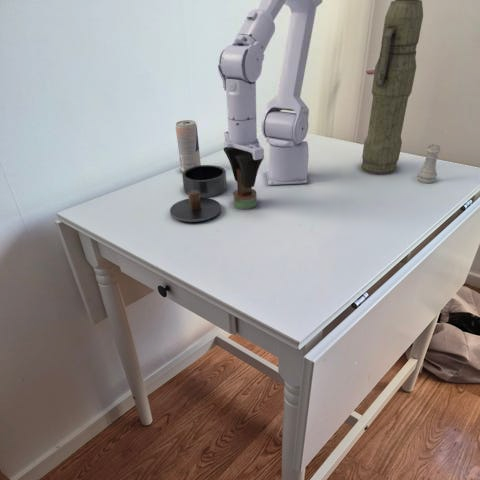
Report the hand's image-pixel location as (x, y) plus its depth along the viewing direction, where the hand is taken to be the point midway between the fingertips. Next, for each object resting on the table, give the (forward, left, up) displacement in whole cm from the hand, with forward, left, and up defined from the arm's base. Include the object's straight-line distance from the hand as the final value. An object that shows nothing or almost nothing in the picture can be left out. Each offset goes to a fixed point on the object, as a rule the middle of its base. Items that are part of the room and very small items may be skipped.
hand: (244, 183), depth 93 cm
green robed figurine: (-35, -18, -5) cm, 40 cm away
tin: (+10, -10, -5) cm, 15 cm away
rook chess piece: (-44, -9, -5) cm, 45 cm away
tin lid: (+11, +3, -4) cm, 12 cm away
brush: (0, 0, -5) cm, 5 cm away
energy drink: (+14, -23, -5) cm, 27 cm away
